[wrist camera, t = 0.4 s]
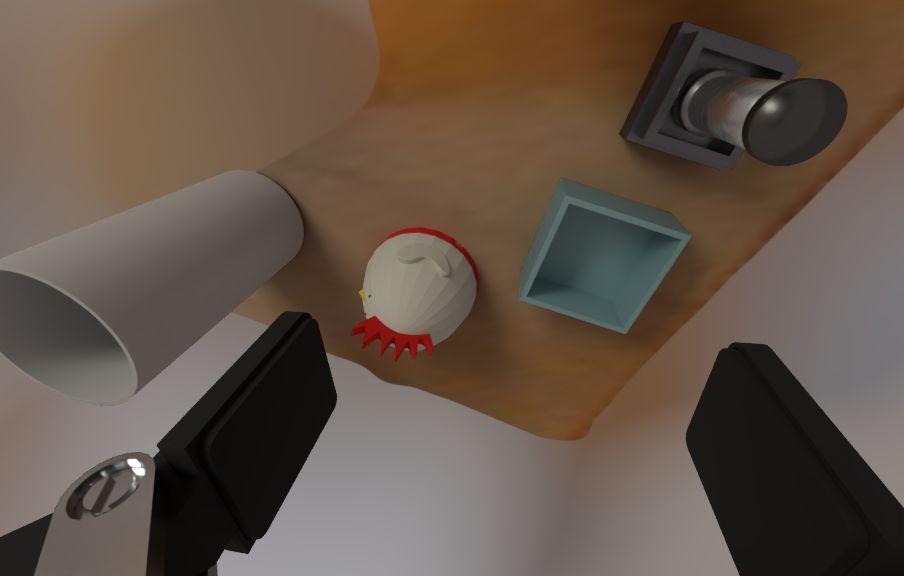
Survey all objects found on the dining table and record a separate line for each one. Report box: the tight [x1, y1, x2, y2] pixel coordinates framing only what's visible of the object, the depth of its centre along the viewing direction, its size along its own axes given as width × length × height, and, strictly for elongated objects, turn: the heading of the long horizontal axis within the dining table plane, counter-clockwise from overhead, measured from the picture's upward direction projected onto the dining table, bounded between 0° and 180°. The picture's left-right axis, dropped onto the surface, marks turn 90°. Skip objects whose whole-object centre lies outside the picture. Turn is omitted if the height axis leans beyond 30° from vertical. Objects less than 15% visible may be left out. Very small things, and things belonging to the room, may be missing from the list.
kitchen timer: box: [351, 228, 478, 362], centre depth 43 cm, size 14×14×15 cm
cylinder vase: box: [0, 170, 304, 406], centre depth 38 cm, size 12×12×25 cm
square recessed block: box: [619, 21, 802, 171], centre depth 32 cm, size 9×9×6 cm
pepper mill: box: [672, 68, 847, 166], centre depth 27 cm, size 5×5×13 cm
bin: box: [519, 178, 692, 334], centre depth 41 cm, size 12×12×6 cm
